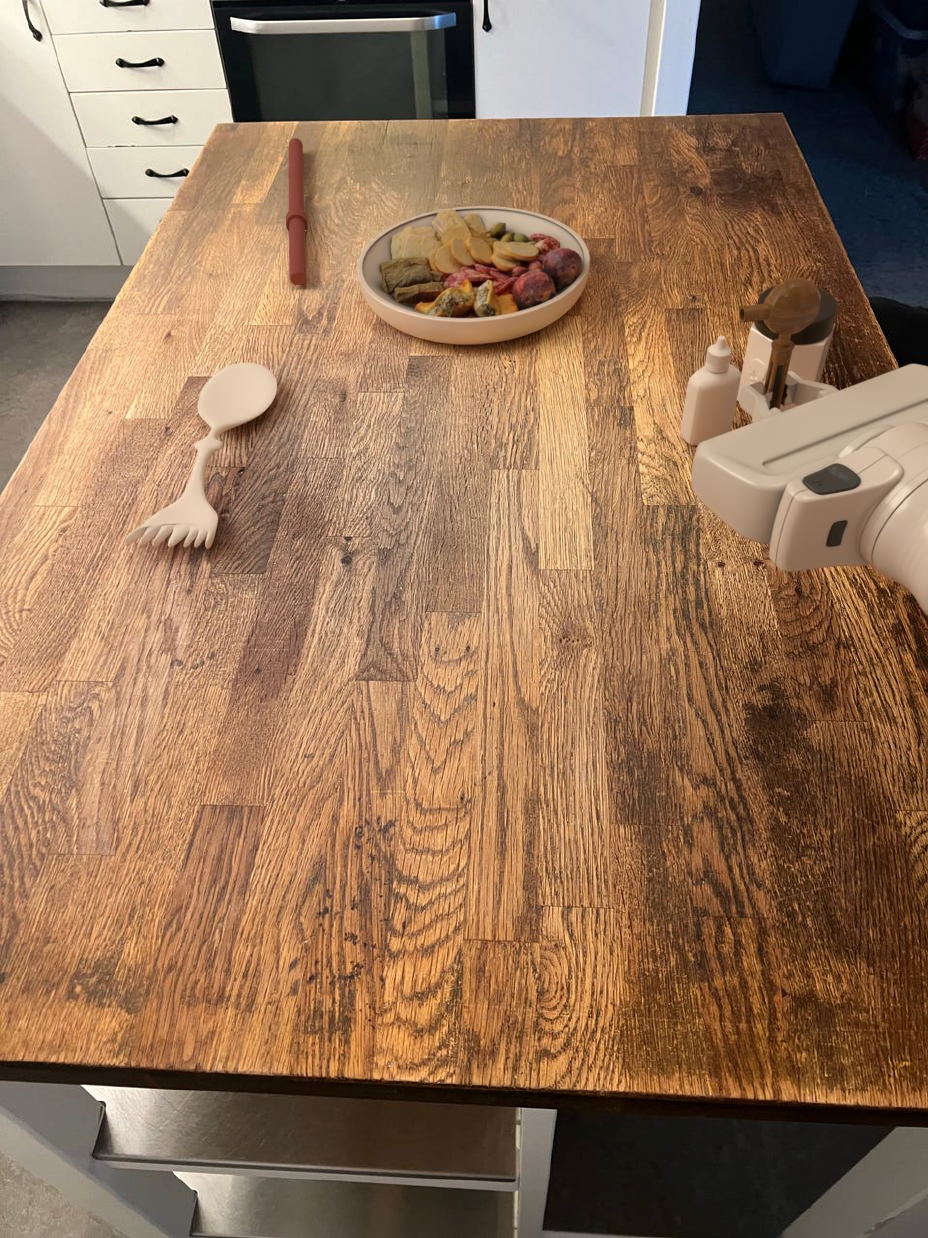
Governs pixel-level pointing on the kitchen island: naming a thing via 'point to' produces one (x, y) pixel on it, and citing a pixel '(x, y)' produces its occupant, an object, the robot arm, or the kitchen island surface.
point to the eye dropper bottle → (711, 396)
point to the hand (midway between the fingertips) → (763, 386)
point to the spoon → (210, 453)
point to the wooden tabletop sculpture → (784, 325)
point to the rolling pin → (296, 214)
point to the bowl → (473, 274)
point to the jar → (807, 345)
